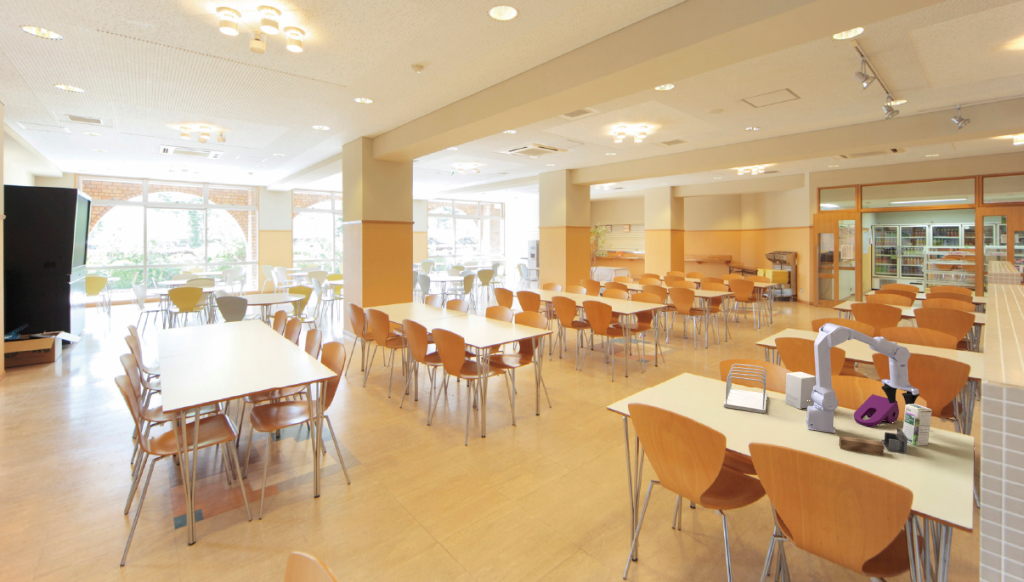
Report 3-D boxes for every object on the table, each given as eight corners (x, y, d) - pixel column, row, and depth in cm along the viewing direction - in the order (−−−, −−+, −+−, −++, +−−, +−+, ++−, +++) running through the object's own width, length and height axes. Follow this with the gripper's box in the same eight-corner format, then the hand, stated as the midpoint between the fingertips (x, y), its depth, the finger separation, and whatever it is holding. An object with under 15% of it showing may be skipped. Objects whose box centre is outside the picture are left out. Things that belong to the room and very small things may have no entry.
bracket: (887, 451, 175) (889, 435, 174) (881, 440, 183) (882, 425, 183) (906, 453, 172) (907, 438, 171) (898, 442, 181) (899, 428, 180)
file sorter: (765, 414, 212) (766, 381, 210) (723, 407, 221) (724, 375, 219) (766, 397, 233) (768, 366, 231) (728, 391, 242) (729, 362, 240)
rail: (840, 449, 177) (841, 439, 177) (838, 445, 180) (839, 435, 180) (883, 456, 172) (883, 445, 171) (880, 452, 175) (881, 441, 174)
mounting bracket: (877, 441, 196) (900, 416, 201) (873, 425, 193) (897, 400, 199) (852, 432, 204) (875, 408, 210) (848, 417, 202) (872, 394, 207)
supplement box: (815, 407, 218) (817, 376, 216) (800, 409, 216) (801, 378, 214) (799, 401, 227) (801, 371, 225) (784, 403, 224) (785, 372, 223)
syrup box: (901, 439, 184) (904, 404, 182) (915, 438, 184) (918, 403, 182) (914, 446, 178) (918, 409, 176) (929, 445, 179) (932, 408, 177)
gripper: (925, 377, 182) (927, 410, 184) (891, 367, 197) (893, 398, 198) (908, 380, 182) (910, 413, 183) (876, 370, 196) (878, 401, 198)
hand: (900, 406), depth 191 cm, fingers open, 7 cm apart
